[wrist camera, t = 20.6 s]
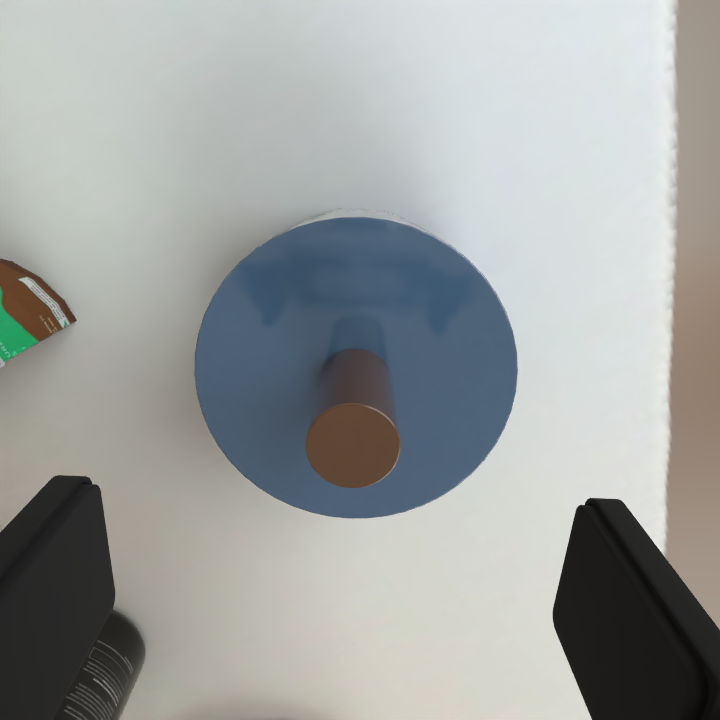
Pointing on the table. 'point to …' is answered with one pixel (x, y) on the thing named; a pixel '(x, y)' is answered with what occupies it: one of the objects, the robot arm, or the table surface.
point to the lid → (356, 367)
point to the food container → (27, 310)
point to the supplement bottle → (106, 674)
